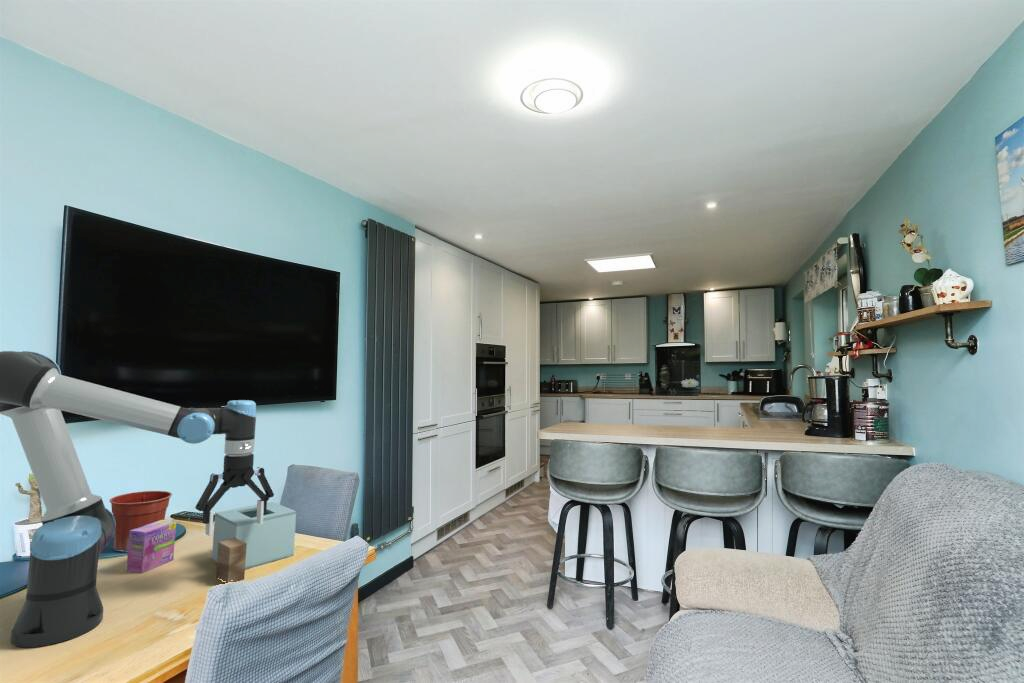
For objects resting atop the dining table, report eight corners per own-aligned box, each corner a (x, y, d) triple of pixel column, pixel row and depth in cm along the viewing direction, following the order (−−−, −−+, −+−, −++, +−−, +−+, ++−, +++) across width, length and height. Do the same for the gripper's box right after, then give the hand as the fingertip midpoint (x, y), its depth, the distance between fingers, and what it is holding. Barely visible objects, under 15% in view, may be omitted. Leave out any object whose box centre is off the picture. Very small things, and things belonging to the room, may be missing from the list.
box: (141, 573, 137) (145, 531, 138) (125, 571, 138) (129, 529, 139) (174, 560, 147) (177, 521, 148) (158, 558, 148) (161, 519, 149)
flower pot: (170, 534, 168) (174, 488, 169) (166, 550, 154) (170, 499, 155) (110, 542, 160) (114, 493, 161) (100, 559, 146) (104, 505, 147)
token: (227, 584, 132) (230, 547, 133) (215, 577, 136) (218, 542, 137) (244, 579, 136) (246, 543, 136) (232, 572, 140) (234, 537, 140)
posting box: (233, 572, 139) (236, 524, 140) (211, 558, 149) (215, 512, 150) (293, 555, 154) (296, 511, 154) (270, 543, 163) (272, 501, 164)
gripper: (195, 461, 126) (190, 543, 125) (288, 450, 146) (284, 521, 145) (184, 457, 131) (180, 536, 130) (276, 447, 150) (272, 515, 149)
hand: (235, 528), depth 137 cm, fingers open, 13 cm apart
